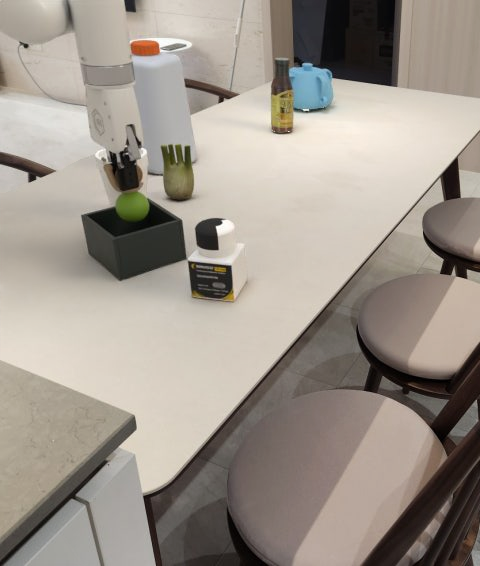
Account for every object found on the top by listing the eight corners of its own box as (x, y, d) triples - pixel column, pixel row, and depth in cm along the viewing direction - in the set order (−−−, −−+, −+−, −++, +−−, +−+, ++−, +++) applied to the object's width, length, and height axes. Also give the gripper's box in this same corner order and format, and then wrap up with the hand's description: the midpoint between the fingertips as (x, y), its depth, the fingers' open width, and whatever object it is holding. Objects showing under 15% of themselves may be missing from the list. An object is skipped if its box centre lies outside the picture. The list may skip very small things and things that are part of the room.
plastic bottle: (151, 150, 162) (136, 34, 148) (204, 158, 158) (193, 40, 144) (113, 168, 150) (92, 44, 135) (169, 178, 146) (154, 51, 132)
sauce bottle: (282, 135, 177) (280, 62, 167) (266, 131, 180) (263, 58, 170) (298, 131, 182) (297, 59, 172) (282, 126, 185) (281, 55, 175)
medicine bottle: (191, 297, 102) (183, 230, 96) (207, 276, 108) (200, 211, 102) (234, 302, 101) (229, 235, 95) (247, 280, 107) (243, 216, 101)
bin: (119, 280, 106) (112, 239, 102) (88, 253, 113) (80, 214, 109) (186, 258, 113) (182, 219, 109) (153, 234, 121) (148, 197, 117)
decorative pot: (326, 116, 196) (326, 71, 189) (276, 111, 198) (275, 66, 191) (337, 103, 210) (338, 60, 203) (290, 99, 212) (289, 56, 205)
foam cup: (98, 213, 128) (86, 151, 121) (141, 202, 133) (131, 142, 127) (120, 229, 122) (109, 165, 115) (164, 216, 128) (156, 154, 121)
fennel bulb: (198, 196, 138) (192, 142, 132) (186, 204, 134) (180, 149, 128) (174, 192, 139) (168, 138, 133) (161, 200, 135) (154, 145, 129)
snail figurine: (107, 221, 109) (94, 153, 103) (142, 212, 113) (132, 146, 107) (120, 231, 106) (108, 162, 100) (156, 221, 110) (147, 154, 104)
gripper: (63, 67, 100) (84, 178, 109) (107, 87, 90) (126, 207, 99) (109, 62, 104) (126, 169, 114) (156, 81, 95) (170, 196, 104)
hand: (126, 186), depth 106 cm, fingers closed on snail figurine
